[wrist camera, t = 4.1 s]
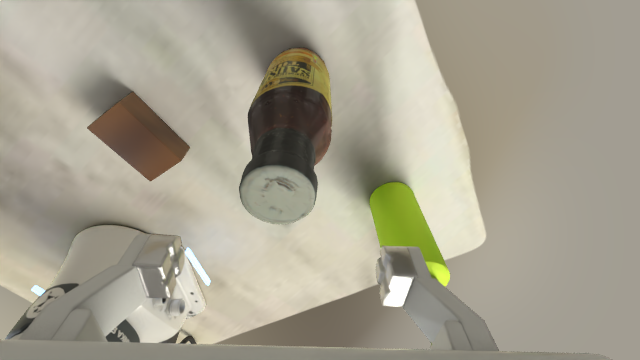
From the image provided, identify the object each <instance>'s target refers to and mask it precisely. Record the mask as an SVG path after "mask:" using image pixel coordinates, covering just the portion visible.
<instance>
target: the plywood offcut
mask: <svg viewBox="0 0 640 360" xmlns="http://www.w3.org/2000/svg"><path fill="white" fill-rule="evenodd" d="M87 129H89V130H90V131H91V132H92V133H93V134H94V135H96V136H97V137H98V138H99V139H100V140H102V141H103V142H104V143H105V144H106V145H108V146H109V147H110V148H111V149H112V150H113V151H115V152H116V153H117V154H118V155H119V156H121V157H122V158H123V159H124V160H125V161H127V162H128V163H129V164H130V165H131V166H132V167H134V168H135V169H136V170H137V171H138V172H140V173H141V174H142V175H143V176H144V177H145V178H147V179H148V180H149V181H152V180H154V179H155V178H157V177H158V176H160V175H161V174H163V173H164V172H165V171H167V170H168V169H170V168H171V167H173V166H174V165H176V164H177V163H179V162H180V161H182V159H183V158H184V156H185V155H186V153H187V152H188V150H189V148H190V147H189V146H188V145H187V144H186V143H185V142H184V141H183V140H182V139H181V138H180V137H179V136H178V135H177V134H176V133H175V132H174V131H173V130H172V129H171V128H170V127H169V126H168V125H166V124H165V123H164V122H163V121H162V120H161V119H160V118H159V117H158V116H157V115H156V114H155V113H154V112H153V111H152V110H151V109H150V108H149V107H148V106H147V105H146V104H145V103H144V102H143V101H142V100H141V99H140V98H139V97H138V96H137V95H136V94H135V93H134V92H131V93H130V94H129V95H127V96H126V97H124V98H123V99H122V100H120V101H119V102H118V103H116V104H115V105H114V106H113V107H111V108H110V109H109V110H108V111H106V112H105V113H104V114H103V115H102V116H100V117H99V118H98V119H97V120H95V121H94V122H93V123H92V124H91V125H89V126H88V127H87Z"/></svg>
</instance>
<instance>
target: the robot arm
mask: <svg viewBox="0 0 640 360" xmlns="http://www.w3.org/2000/svg"><path fill="white" fill-rule="evenodd" d="M181 244H182V241H181V237H180V236H175V235H161V234H146V233H143V232H141V231H138V230H135V229H132V228H128V227H123V226H116V225H100V226H94V227H90V228H87V229H85V230H83V231H81V232H80V233H78V234H77V235H76V236H75V238H74V239H73V242H72V244H71V247H70V250H69V252H68V255H67V257H66V259H65V261H64V263H63V265H62V266H61V268H60V270H59V272H58V273H57V275H56V277H55V278H54V280H53V281H52V283H51V284H50V286H49V287H48V289H47V290H46V291H44V290H43V289H41V288H40V287H38V286H37V285H36V286H34V287H33V288H32V291H33V292H35V293H36V294H38V295H40V297H39V298H38V299H37V300H36V301H35V302H34V303H33V304H32V305H31V306H30V307H29V309H28V310H27V311H26V312H25V313H24V315H23V316H22V317H21V318H20V320H19V321H18V322H17V324H16V325H15V326H14V328H13V329H12V330H11V331H10V333H9V334H8V335H7V337H6V338H5V339H0V360H612V359H610V358H608V357H606V356H603V355H599V354H589V353H549V352H548V353H547V352H506V351H499V349H498V347H497V345H496V343H495V341H494V339H493V337H492V336H491V333H490V331H489V329H488V327H487V325H486V323H485V321H484V320H483V319H481V317H479V316H478V315H477V314H476V313H475V312H474V311H473V310H471V309H470V308H469V307H468V306H466V304H464V303H463V302H462V301H461V300H460V299H458V298H457V297H456V296H455V295H454V294H453V293H452V292H450V291H449V290H448V289H447V288H446V287H445V286H443V285H442V284H441V283H440V282H439V281H438V280H436V279H435V278H432V277H431V275H430V272H429V270H428V267H427V265H426V262H425V260H424V258H423V255H422V253H421V250H420V248H419V247H410V246H406V247H405V246H384V245H383V246H382V247H381V250H380V255H381V257H380V258H379V259H378V260H377V264H376V278H377V282H378V283H379V284H380V285H381V288H380V291H379V292H380V296H381V301H382V305H383V306H398V307H403V309H404V310H405V311H406V312H407V313H408V315H409V316H410V317H411V318H412V319H413V321H414V322H415V323H416V325H417V326H418V327H419V328H420V330H421V331H422V332H423V333H424V334H425V336H426V337H427V338H428V339H429V340H430V342H431V343H432V345H431V347H430V349H429V350H424V349H423V350H422V349H382V348H341V347H294V346H256V345H216V344H196V342H195V340H194V339H193V337H191V336H187V337H186V338H184V339H183V340H182V342H181V343H178V344H176V340H177V337H178V334H179V332H180V329H181V327H182V325H183V323H184V321H185V319H187V318H190V317H193V316H195V315H197V314H199V313H201V312H202V311H203V310H204V309H205V306H206V302H205V299H204V297H203V294H202V292H201V289H200V287H199V284H198V282H197V279H196V277H195V274H194V272H193V269H192V267H191V264H190V262H189V259H190V261H191V262H192V264H193V265H194V267H195V268H196V270H197V271H198V273H199V274H200V276H201V277H202V279H203V280H204V282H205V283H206V285H207V286H208V285H209V284H210V279H209V278H208V276H207V275H206V273H205V272H204V270H203V268H202V267H201V265H200V264H199V262H198V261H197V259H196V258H195V256H194V255H193V253H192V252H191V250H190V249H189V248H187V249H186V251H185V249H184V248H183V247H182V246H181ZM187 256H188V257H187ZM188 258H189V259H188ZM187 341H190V343H191V344H186V342H187Z"/></svg>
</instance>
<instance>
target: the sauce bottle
mask: <svg viewBox="0 0 640 360" xmlns="http://www.w3.org/2000/svg"><path fill="white" fill-rule="evenodd" d="M248 126H249V134H250V144H251V153H252V160H251V161H250V162H249V163H248V165H247V166H246V168H245V170H244V172H243V175H242V179H241V183H240V186H239V192H240V198H241V201H242V204H243V205H244V207H245V209H246V210H247V211H248V212H249V213H250V214H251V215H253V216H254V217H256V218H258V219H260V220H262V221H264V222H269V223H272V224H289V223H293V222H296V221H298V220H299V219H301V218H303V217H305V216H307V215H308V214H309V213H310V212H311V210H312V209H313V207H314V204H315V201H316V194H317V186H318V182H317V176H316V174H315V172H314V166H315V165H316V164H317V163H318V162H319V161H320V160H321V159H322V158H323V156H324V155H325V153H326V152H327V149H328V147H329V145H330V141H331V132H332V130H331V126H332V108H331V92H330V78H329V73H328V70H327V68H326V65H325V63H324V61H323V60H322V59H321V57H320V56H318V55H317V54H316V53H314V52H312V51H310V50H309V49H307V48H293V49H289V50H287V51H283V52H282V53H281V54H279V55H278V56H277V57H276V58H275V59H274V60H273V61H272V62H271V64H270V66H269V68H268V70H267V72H266V74H265V77H264V79H263V81H262V83H261V85H260V87H259V90H258V92H257V94H256V96H255V98H254V100H253V102H252V104H251V107H250V109H249V112H248Z"/></svg>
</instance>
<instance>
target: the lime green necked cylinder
mask: <svg viewBox="0 0 640 360" xmlns="http://www.w3.org/2000/svg"><path fill="white" fill-rule="evenodd" d="M370 208H371V212H372V215H373V219H374V223H375V227H376V231H377V235H378V239H379V243H380V247H382V246H383V245H384V246H405V247H406V246H410V247H419V248H420V250H421V253H422V255H423V258H424V260H425V262H426V265H427V267H428V270H429V272H430V275H431V277H432V278H435V279H436V280H438V281H439V282H440V283H441V284H442V285H443V286H446V285H447V284H448V282H449V279H450V273H449V270H448V268H447V266H446V264H445V261H444V259H443V257H442V255H441V253H440V251H439V248H438V246H437V244H436V242H435V240H434V237H433V235H432V233H431V231H430V229H429V227H428V224H427V222H426V220H425V218H424V216H423V213H422V211H421V209H420V207H419V205H418V203H417V200H416V198H415V196H414V194H413V192H412V190H411V189H410V187H408V186H407V185H405V184H403V183H399V182H391V183H386V184H384V185H381V186H380V187H378V188H377V189H376V190H375V191H374V192H373V193H372V195H371V197H370ZM431 345H432V343H431Z"/></svg>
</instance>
